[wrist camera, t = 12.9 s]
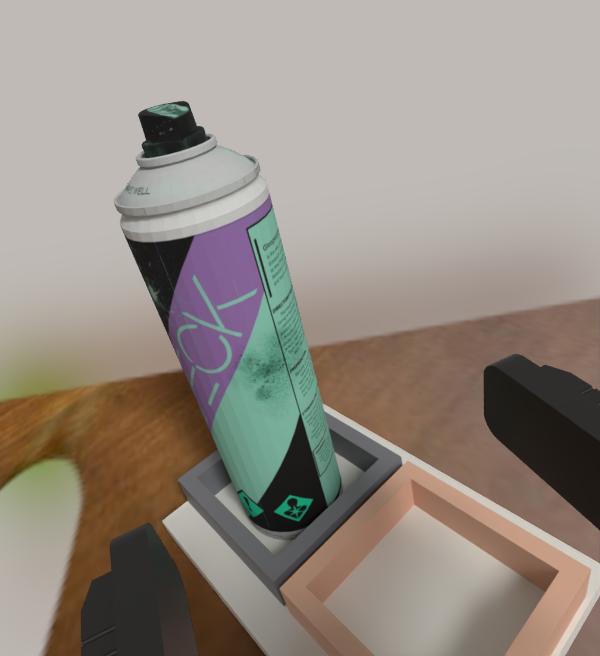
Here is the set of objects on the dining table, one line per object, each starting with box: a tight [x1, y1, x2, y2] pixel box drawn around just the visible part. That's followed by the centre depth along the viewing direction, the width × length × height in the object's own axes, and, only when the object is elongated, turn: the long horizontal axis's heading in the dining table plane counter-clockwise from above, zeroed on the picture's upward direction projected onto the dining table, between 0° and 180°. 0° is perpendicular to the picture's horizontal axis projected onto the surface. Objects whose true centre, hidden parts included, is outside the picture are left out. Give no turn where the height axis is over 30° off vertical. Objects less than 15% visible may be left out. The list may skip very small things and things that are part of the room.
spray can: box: [114, 101, 343, 540], centre depth 21 cm, size 6×6×20 cm
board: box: [162, 403, 600, 656], centre depth 23 cm, size 12×18×3 cm, turn 42°
